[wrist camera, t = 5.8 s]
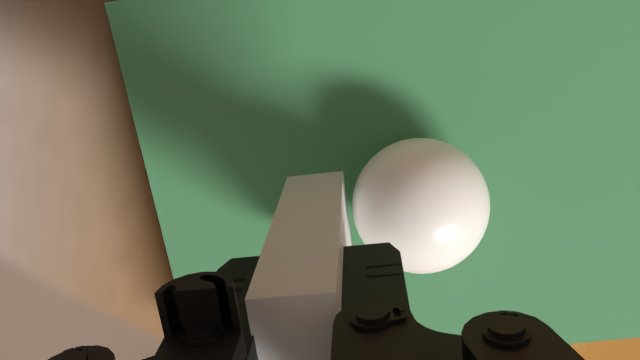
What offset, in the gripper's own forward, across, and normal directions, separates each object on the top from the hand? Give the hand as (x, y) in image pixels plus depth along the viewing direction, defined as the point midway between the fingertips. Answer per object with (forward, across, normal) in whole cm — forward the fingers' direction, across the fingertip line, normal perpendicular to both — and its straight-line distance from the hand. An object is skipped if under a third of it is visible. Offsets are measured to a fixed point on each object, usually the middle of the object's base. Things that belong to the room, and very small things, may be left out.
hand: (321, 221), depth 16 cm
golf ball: (0, +1, 0) cm, 1 cm away
